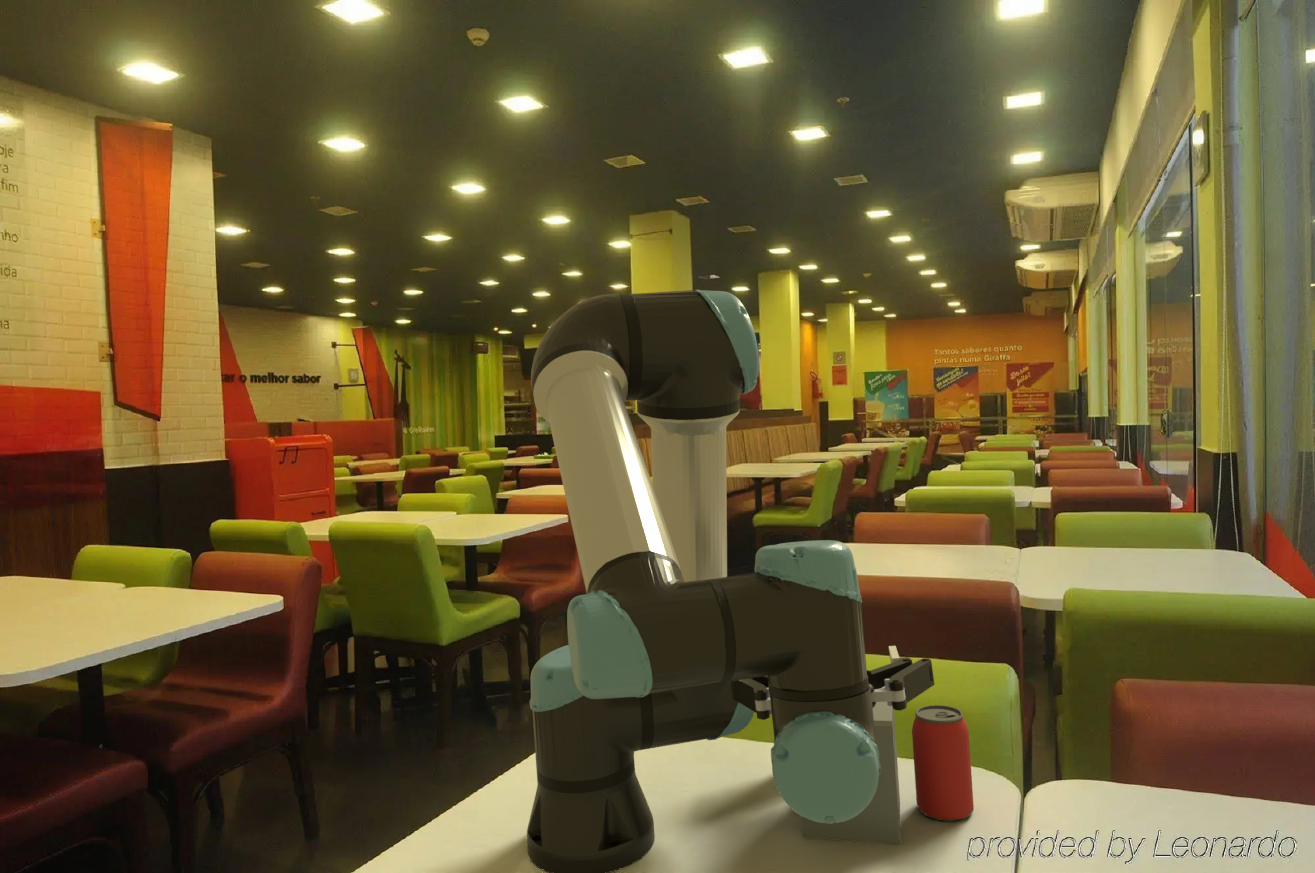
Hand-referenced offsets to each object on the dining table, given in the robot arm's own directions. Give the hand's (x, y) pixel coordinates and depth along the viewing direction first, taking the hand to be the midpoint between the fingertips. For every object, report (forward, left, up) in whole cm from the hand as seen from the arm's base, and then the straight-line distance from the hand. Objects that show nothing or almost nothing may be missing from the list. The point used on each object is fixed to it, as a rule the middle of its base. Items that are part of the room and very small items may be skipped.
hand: (830, 662), depth 94 cm
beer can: (+11, +12, -22) cm, 27 cm away
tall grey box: (+1, +9, -22) cm, 23 cm away
